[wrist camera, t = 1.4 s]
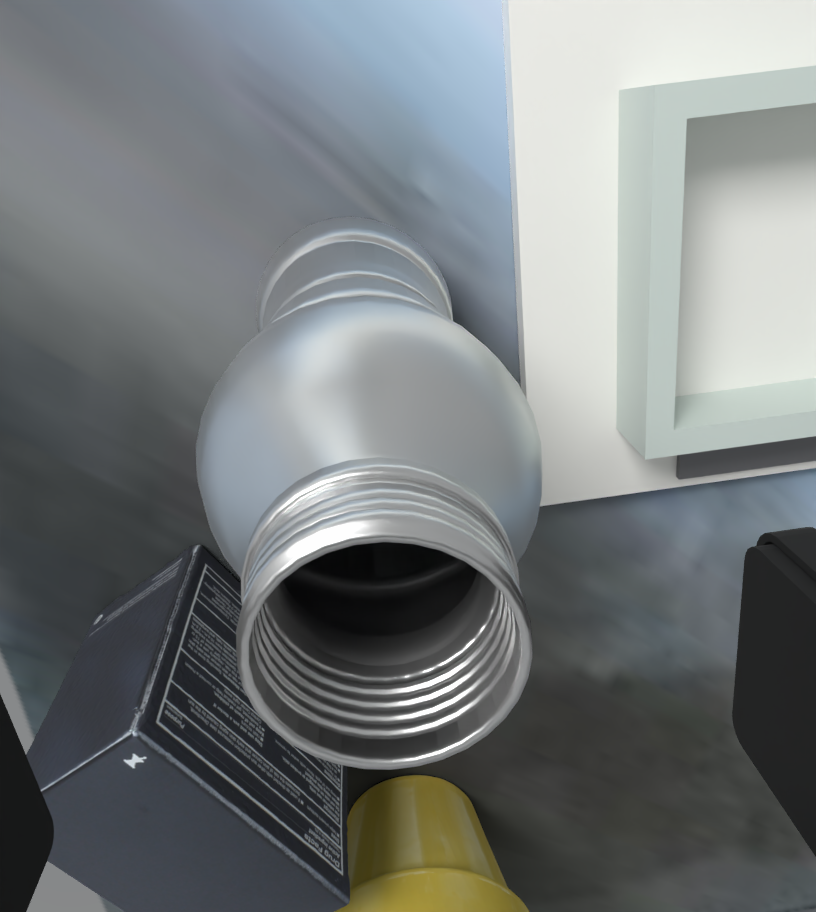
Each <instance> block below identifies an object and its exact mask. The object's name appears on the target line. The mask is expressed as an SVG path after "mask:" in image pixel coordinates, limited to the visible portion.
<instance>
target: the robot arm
mask: <svg viewBox="0 0 816 912" xmlns="http://www.w3.org/2000/svg"><path fill="white" fill-rule="evenodd" d="M732 716H733V725H734V729H735V732H736V735H737V738H738V740H739V742H740V744H741V746H742V747H743V749H744V750H745V752H746V753H747V755H748V756H749V758H750V759H751V761H752V762H753V764H754V765H755V767H756V768H757V770H758V771H759V773H760V774H761V776H762V777H763V779H764V780H765V782H766V783H767V785H768V786H769V788H770V789H771V791H772V792H773V793H774V795H775V796H776V798H777V799H778V801H779V802H780V804H781V805H782V807H783V808H784V810H785V811H786V813H787V814H788V816H789V817H790V819H791V820H792V822H793V823H794V825H795V826H796V828H797V829H798V831H799V832H800V834H801V835H802V837H803V838H804V840H805V841H806V843H807V844H808V846H809V847H810V849H811V850H812V852H813V853H814V855H815V856H816V529H815V528H813V527H805V528H798V529H791V530H784V531H777V532H770V533H765V534H763V535H761V536H760V538H759V540H758V542H757V546H755V547H751V548H749V549H748V550H747V552H746V555H745V561H744V574H743V586H742V599H741V611H740V624H739V636H738V649H737V662H736V674H735V687H734V699H733V712H732ZM53 839H54V825H53V820H52V816H51V814H50V811H49V809H48V807H47V804H46V802H45V799H44V797H43V795H42V792H41V790H40V788H39V785H38V783H37V780H36V778H35V776H34V773H33V771H32V769H31V766H30V764H29V761H28V759H27V757H26V755H25V752H24V750H23V747H22V745H21V742H20V740H19V738H18V735H17V733H16V731H15V728H14V726H13V723H12V721H11V719H10V716H9V714H8V711H7V709H6V707H5V704H4V702H3V700H2V697H1V695H0V912H26V911H27V908H28V906H29V903H30V901H31V899H32V896H33V894H34V891H35V889H36V886H37V884H38V881H39V879H40V877H41V874H42V872H43V869H44V867H45V864H46V862H47V860H48V857H49V855H50V852H51V849H52V845H53Z"/></svg>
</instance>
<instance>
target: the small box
mask: <svg viewBox="0 0 816 912" xmlns="http://www.w3.org/2000/svg"><path fill="white" fill-rule="evenodd" d="M241 608H242V602H241V584H240V583H239V582H238V581H237V580H236V579H235V578H234V577H233V576H232V575H231V574H230V573H229V572H228V571H227V570H226V569H225V568H224V567H223V566H222V565H221V564H220V563H219V562H218V561H217V560H216V559H215V558H214V557H212V556H211V555H210V554H209V553H208V552H207V551H206V550H205V549H204V548H203V546H201V545H194V546H190V547H189V548H188V549H186V550H184V551H183V552H182V553H181V554H180V555H179V556H178V557H177V558H176V559H175V560H174V561H172V562H168V563H167V565H166V566H165V567H164V568H162V569H161V570H159V571H158V572H157V573H155V574H153V575H151V577H150V578H148V579H147V580H145V581H144V582H142V583H141V584H138V585H137V586H136V587H135V588H134V589H132V590H131V591H129V592H128V593H127V594H125V595H121V596H119V597H118V598H117V599H116V600H114V601H113V602H112V603H111V604H109V606H107V607H106V608H105V609H104V610H103V611H102V612H100V613H99V614H97V615H96V616H95V617H94V619H93V622H92V624H91V626H90V628H89V630H88V632H87V634H86V636H85V639H84V640H83V642H82V645H81V647H80V649H79V651H78V653H77V655H76V657H75V659H74V661H73V663H72V664H71V667H70V669H69V671H68V672H67V674H66V677H65V679H64V680H63V683H62V685H61V687H60V689H59V691H58V693H57V695H56V697H55V699H54V701H53V703H52V705H51V707H50V709H49V711H48V713H47V715H46V717H45V719H44V721H43V723H42V725H41V727H40V729H39V731H38V733H37V734H36V736H35V739H34V741H33V743H32V745H31V747H30V749H29V751H28V752H27V754H26V757H27V759H28V761H29V764H30V766H31V769H32V771H33V773H34V776H35V778H36V780H37V783H38V785H39V788H40V790H41V792H42V795H43V797H44V799H45V802H46V804H47V807H48V809H49V811H50V814H51V816H52V820H53V825H54V839H53V845H52V849H51V852H50V855H49V857H48V860H47V861H48V862H50V863H52V864H53V865H55V866H56V867H58V868H59V869H61V870H62V871H64V872H65V873H67V874H68V875H70V876H71V877H73V878H74V879H76V880H77V881H79V882H80V883H82V884H83V885H85V886H86V887H88V888H89V889H91V890H92V891H94V892H95V893H97V894H98V895H100V896H101V897H103V898H104V899H106V900H108V901H109V902H111V903H112V904H114V905H115V906H117V907H118V908H120V909H121V910H123V911H124V912H335V911H337V910H339V909H341V908H343V907H345V906H347V905H348V904H349V902H350V879H349V875H348V852H347V831H348V828H347V805H348V800H347V766H344V765H338V764H335V763H332V762H329V761H326V760H324V759H321V758H318V757H315V756H312V755H310V754H308V753H307V752H305V751H303V750H301V749H299V748H297V747H295V746H293V745H292V744H290V743H289V742H287V741H286V740H285V739H284V738H282V737H281V736H280V735H278V734H277V733H276V732H275V731H273V730H272V729H271V728H270V727H269V726H268V725H267V724H266V722H265V721H264V720H263V719H262V718H261V716H260V715H259V714H258V713H257V712H256V711H255V709H254V708H253V706H252V704H251V702H250V700H249V698H248V696H247V694H246V693H245V691H244V689H243V686H242V682H241V678H240V674H239V670H238V667H237V655H236V629H237V625H238V621H239V617H240V612H241Z"/></svg>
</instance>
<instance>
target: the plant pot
mask: <svg viewBox="0 0 816 912" xmlns="http://www.w3.org/2000/svg"><path fill="white" fill-rule="evenodd" d="M347 828H348V831H347V852H348V875H349V879H350V902H349V904H348V905H347V906H345V907H343V908H341V909H339V910H337V911H335V912H529V910H528V908H527V907H526V905H525V904H524V903H523V902H522V901H521V899H520V898H519V897H518V896H517V895H515V894H514V893H513V892H512V891H511V890H510V889H508V887H507V885H506V882H505V880H504V878H503V876H502V873H501V871H500V869H499V866H498V864H497V862H496V859H495V857H494V855H493V852H492V850H491V848H490V846H489V843H488V841H487V839H486V836H485V834H484V831H483V829H482V827H481V824H480V822H479V819H478V817H477V814H476V812H475V810H474V807H473V805H472V803H471V801H470V800H469V798H468V797H467V796H466V795H465V793H464V792H462V791H461V790H460V789H459V788H458V787H456V786H455V785H453V784H452V783H450V782H448V781H446V780H444V779H440V778H437V777H432V776H425V775H409V776H401V777H396V778H392V779H389V780H386V781H383V782H381V783H379V784H377V785H375V786H373V787H372V788H370V789H368V790H367V791H366V792H365V793H364V794H363V795H361V796H360V797H359V799H358V800H357V801H356V802H355V804H354V805H353V807H352V808H351V810H350V813H349V815H348V818H347Z"/></svg>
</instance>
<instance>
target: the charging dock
mask: <svg viewBox="0 0 816 912" xmlns="http://www.w3.org/2000/svg"><path fill="white" fill-rule="evenodd" d="M502 20H503V40H504V61H505V81H506V101H507V121H508V141H509V161H510V181H511V201H512V221H513V242H514V262H515V282H516V302H517V322H518V342H519V362H520V382H521V390H522V392H523V393H524V395H525V397H526V399H527V401H528V403H529V405H530V407H531V409H532V411H533V413H534V417H535V421H536V425H537V429H538V433H539V437H540V440H541V448H542V473H543V475H542V496H541V502H540V506H546V505H553V504H560V503H567V502H574V501H582V500H589V499H596V498H603V497H610V496H617V495H625V494H632V493H639V492H646V491H653V490H660V489H668V488H675V487H682V486H689V485H696V484H704V483H711V482H718V481H725V480H732V479H739V478H747V477H754V476H761V475H768V474H775V473H782V472H790V471H797V470H804V469H811V468H816V0H502Z"/></svg>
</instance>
